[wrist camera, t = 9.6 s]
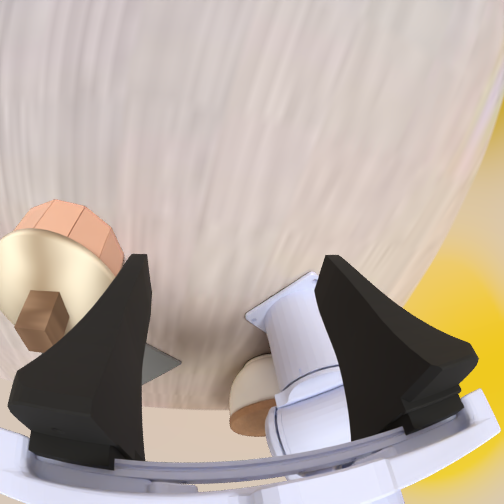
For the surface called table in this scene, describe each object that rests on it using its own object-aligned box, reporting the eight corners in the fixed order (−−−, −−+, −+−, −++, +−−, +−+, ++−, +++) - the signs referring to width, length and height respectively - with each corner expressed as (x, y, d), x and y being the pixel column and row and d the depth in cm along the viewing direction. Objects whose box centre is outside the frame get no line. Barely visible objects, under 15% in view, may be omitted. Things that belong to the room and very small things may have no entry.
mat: (181, 361, 33) (181, 363, 33) (122, 393, 37) (122, 395, 37) (84, 306, 26) (84, 308, 26) (42, 352, 30) (41, 354, 30)
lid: (111, 226, 16) (92, 275, 13) (138, 348, 24) (134, 392, 20) (-30, 230, 14) (-59, 268, 11) (22, 338, 21) (10, 375, 18)
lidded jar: (323, 341, 34) (345, 412, 27) (294, 384, 40) (308, 443, 33) (231, 341, 32) (241, 422, 24) (219, 385, 38) (225, 450, 31)
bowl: (146, 254, 24) (138, 294, 20) (86, 311, 26) (76, 348, 23) (50, 176, 18) (23, 207, 14) (6, 253, 21) (-14, 287, 17)
